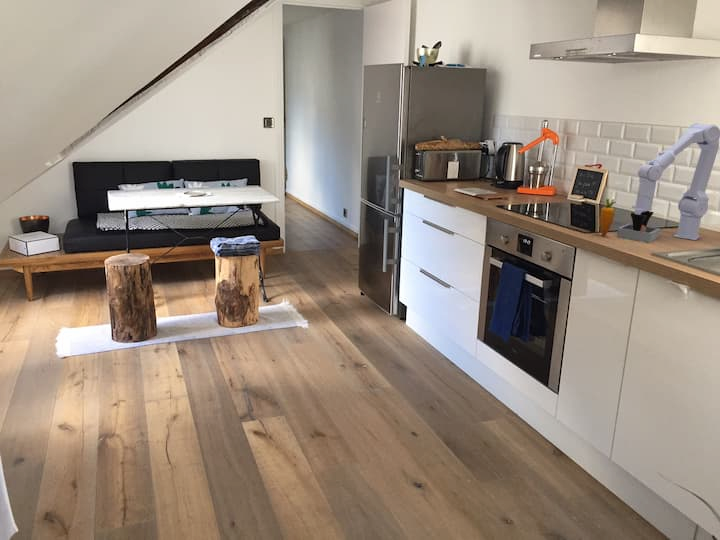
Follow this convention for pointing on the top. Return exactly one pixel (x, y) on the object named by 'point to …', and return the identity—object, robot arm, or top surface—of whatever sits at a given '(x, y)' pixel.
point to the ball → (642, 229)
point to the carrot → (606, 217)
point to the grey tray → (638, 233)
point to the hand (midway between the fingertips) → (638, 230)
